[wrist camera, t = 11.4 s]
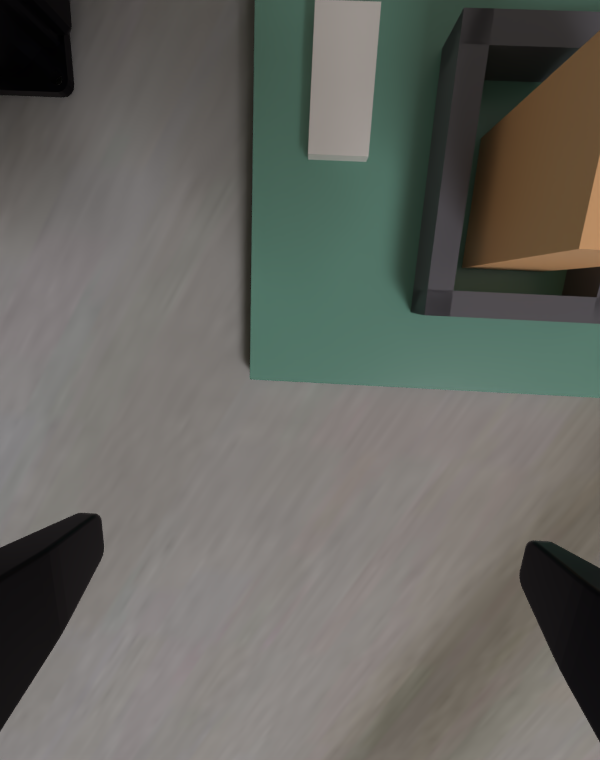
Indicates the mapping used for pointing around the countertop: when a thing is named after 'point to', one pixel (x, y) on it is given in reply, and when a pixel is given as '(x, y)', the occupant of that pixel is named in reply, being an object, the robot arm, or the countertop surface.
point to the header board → (403, 198)
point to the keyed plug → (542, 177)
